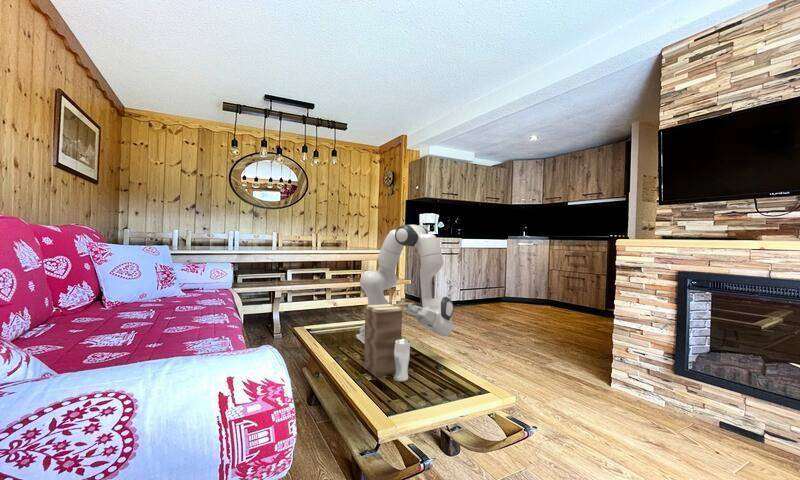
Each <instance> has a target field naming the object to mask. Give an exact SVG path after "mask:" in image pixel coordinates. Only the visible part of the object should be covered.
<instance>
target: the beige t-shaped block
mask: <svg viewBox="0 0 800 480" xmlns="http://www.w3.org/2000/svg"><path fill="white" fill-rule="evenodd" d="M408 303H409V304H412V305H414V306H416V303H414V302H406V303H402V302H401V303H392V304H391V303H388V304H378V305H368V304H367V305H366V308H367V309H370V310H372V311H375V312H377V313H384V312H394V311H401V310H402V309H401V308H408V307H407V304H408Z"/></svg>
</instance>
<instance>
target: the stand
mask: <svg viewBox="0 0 800 480" xmlns="http://www.w3.org/2000/svg"><path fill="white" fill-rule="evenodd" d="M364 309H365V312H364V314H365V316H364V318H365V319H364V324H365V343H364V347H363V348H364V349H363V350H364V351H363V369H365V370H366V371H367V370H368V371H367V372H368V373H370V374H371V375H373V376H374V377H376V378H377V377H380V376H385V375H389V374H390V375H391V374H393V373H394V372H395V367H394V360H393V345H394V341H395V340H398V339H402V333H403V332H402V330H403V328H402V327H403V310H402V309H401V311H394V312H384V313H377V312H375V311H372V310H370V309H367V308H364Z"/></svg>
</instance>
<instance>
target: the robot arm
mask: <svg viewBox="0 0 800 480" xmlns="http://www.w3.org/2000/svg"><path fill="white" fill-rule="evenodd" d="M404 247H415V248H416V249H417V250H418V254H419V258H420V269H419V271H418V287H419V300H420V301H419V305H415V306H414V305H412V304H409V303H410V302H405V301H402V302H401V303H408V304H407V307H408V308H401V310H402V312H406V313H407V314H409V315H411V316H413V317H416V320H417V323H418V324H419V325H421V326H422V327H424V328H426V329H429V330H430V331H431V332H433V333H434V334H436V335H438V336H441V337H447V336H449V335H451V333H452V332H453V331H454V329H455V328H454V327H455V326H454V323H453V319H452V317H453V316H452V315H453V312H454V302H453V301H452V299H451V298H449V297H448V296H440V297H434V298H433V297H432V286H431V285H432V284H431V281H432V279H433V277H434V276H435V275H436V274H438V273H439V272H440V271H441V269H442V268H443V266H444V259H443V253H442V249H441V246H440V243H439V240H438V237H437V236H436V235H435V234H433V233H429V231H428V229H427V228H426V227H425V226H423V225H421V224H419V225H417V224H402V225H400V226H398V227H396V229H392V230H390V231H389V232H388V234H387V235H386V237H385V239H384V241H383V243H382V245H381V248H380V251H379V253H378V256H377V262H378V263H379V266H378V269H377V270H371V271H368V272H366V273H364V274H362V275H361V277H360V279H359V286H360V288H361V289H362V290H363V291H364V292H365V295H366V297H367V305H378V304H389V301H388V299H387V298H386V297H385V294H384V291H385V290H386V291H387V290H389V289H392V288H394V287H395V286H396V284H397V282H398V277H397V274H396V269H397V265H398V262H399V259H400V257H401V254H402V252H403V250H404ZM355 337H356V338H357V339H358V340H360V341H361V342H362V343H363V344H364V343H365V323H364V324H362V325H361V326H360V328H359V333H357V334H355ZM360 341H359V342H360ZM361 342H360V343H361ZM362 343H361V344H362Z"/></svg>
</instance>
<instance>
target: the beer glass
mask: <svg viewBox="0 0 800 480" xmlns="http://www.w3.org/2000/svg"><path fill="white" fill-rule="evenodd" d="M410 343H411V341H410V340H408V339H404V338H403V339H402V338H401V339H398V340H395V341H394V345H393V360H394V367H395V372H394V374H393V380H394V381H397V382H400V383H401V382H406V381H408V380H409V373H408V370H409V369H408V368H409V363H410V358H411V357H410V356H411V344H410Z"/></svg>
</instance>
